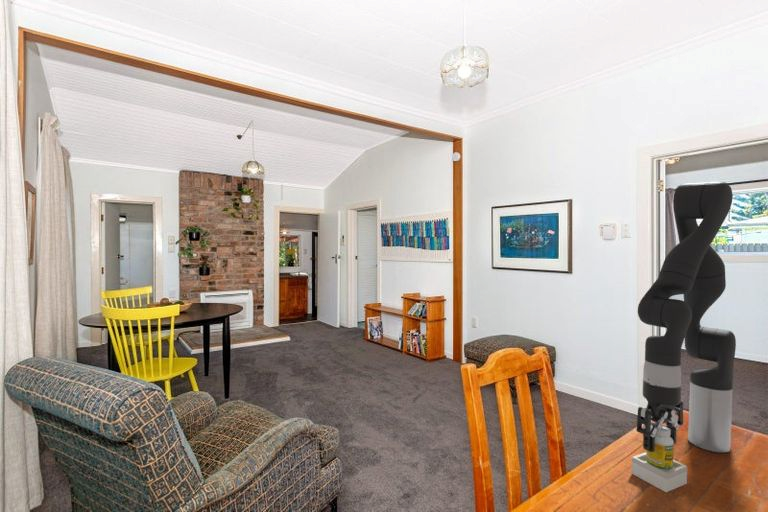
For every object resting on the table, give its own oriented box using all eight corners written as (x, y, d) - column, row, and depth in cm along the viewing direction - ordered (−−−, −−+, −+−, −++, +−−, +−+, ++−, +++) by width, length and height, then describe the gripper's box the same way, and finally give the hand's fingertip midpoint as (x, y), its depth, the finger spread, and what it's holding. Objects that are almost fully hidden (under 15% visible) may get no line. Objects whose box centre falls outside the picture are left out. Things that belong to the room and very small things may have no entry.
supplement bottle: (651, 457, 98) (653, 420, 98) (676, 468, 94) (678, 428, 94) (641, 464, 96) (643, 425, 95) (667, 475, 91) (668, 435, 91)
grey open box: (651, 465, 100) (652, 449, 100) (686, 483, 93) (687, 466, 93) (631, 473, 97) (632, 456, 97) (666, 492, 90) (666, 474, 89)
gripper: (663, 371, 100) (661, 433, 101) (627, 379, 94) (625, 445, 95) (696, 381, 93) (694, 447, 94) (660, 390, 88) (657, 461, 88)
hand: (659, 446), depth 95 cm, fingers open, 8 cm apart
